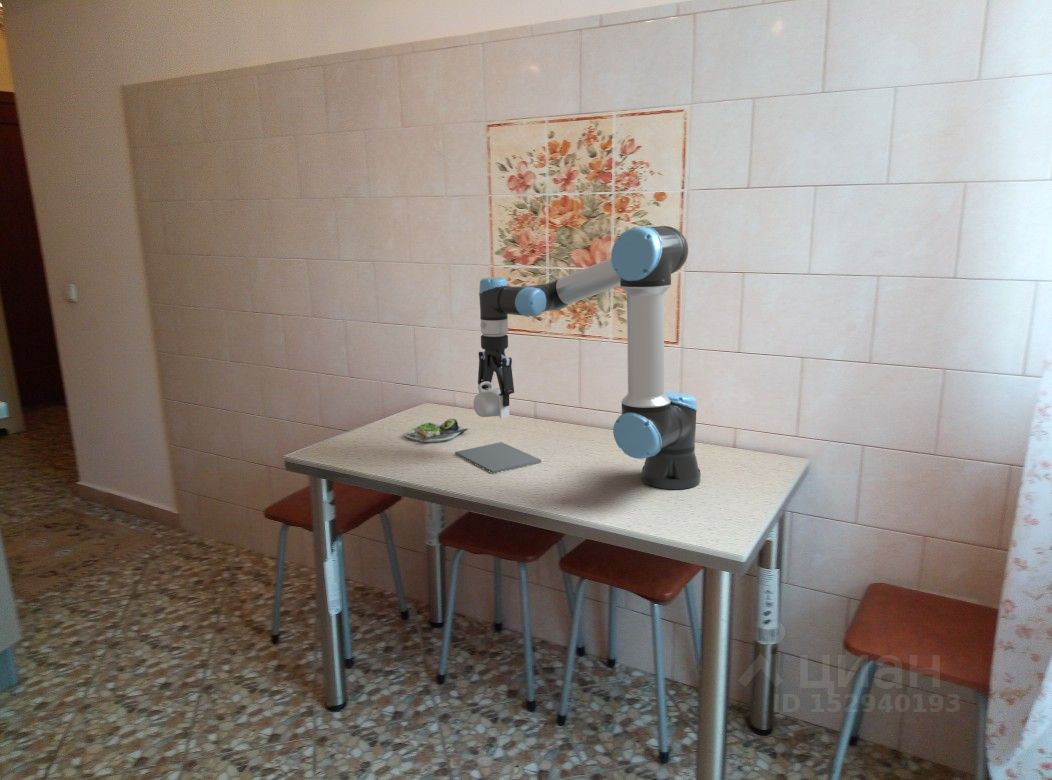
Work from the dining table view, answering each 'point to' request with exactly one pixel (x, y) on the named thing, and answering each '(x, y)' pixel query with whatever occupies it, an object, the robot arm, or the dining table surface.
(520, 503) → the dining table surface
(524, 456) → the mat
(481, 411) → the cup
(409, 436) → the avocado toast plate
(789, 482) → the dining table surface
